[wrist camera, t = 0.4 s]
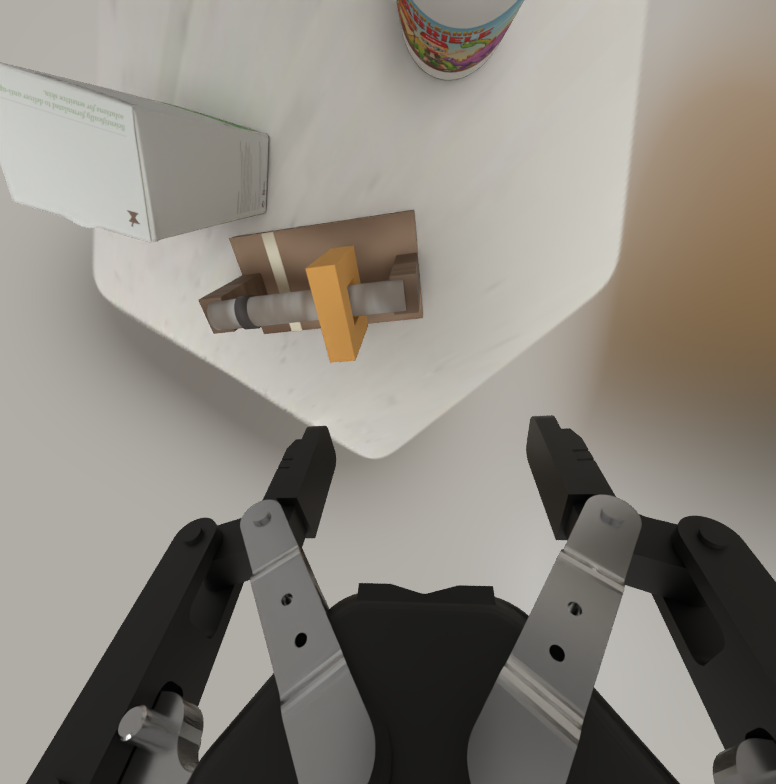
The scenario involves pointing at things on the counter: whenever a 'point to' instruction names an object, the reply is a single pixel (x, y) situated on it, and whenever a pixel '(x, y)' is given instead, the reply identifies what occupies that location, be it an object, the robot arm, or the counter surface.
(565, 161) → the counter surface
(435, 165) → the counter surface
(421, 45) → the milk bottle
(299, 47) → the counter surface
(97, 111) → the skincare box
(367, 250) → the pipe stand
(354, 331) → the collar
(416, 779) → the robot arm
